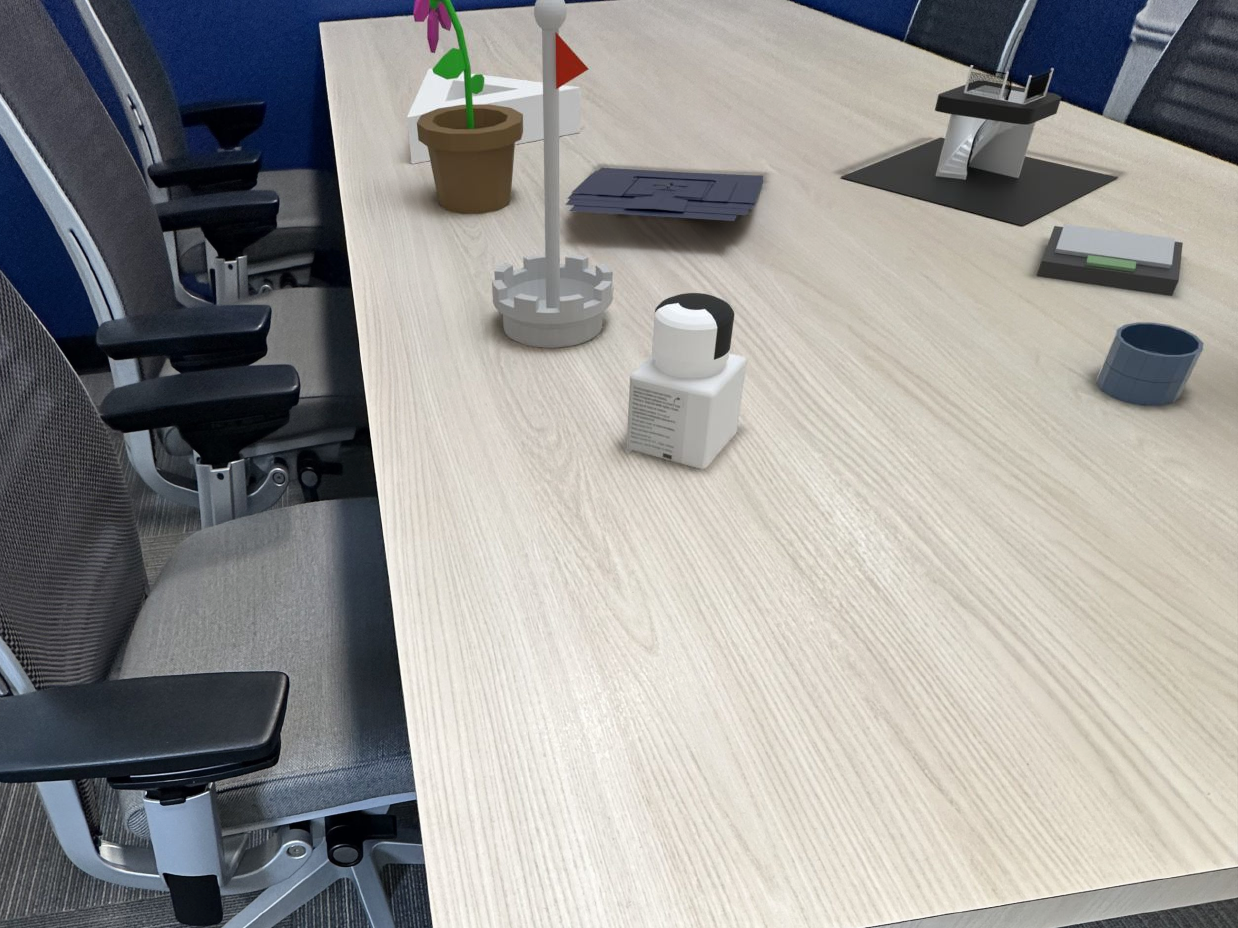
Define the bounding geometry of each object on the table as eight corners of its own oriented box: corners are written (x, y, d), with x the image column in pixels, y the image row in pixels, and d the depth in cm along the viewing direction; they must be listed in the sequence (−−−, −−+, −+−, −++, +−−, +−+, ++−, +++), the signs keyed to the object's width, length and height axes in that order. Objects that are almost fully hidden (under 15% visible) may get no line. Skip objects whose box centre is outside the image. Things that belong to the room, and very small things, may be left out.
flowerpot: (448, 181, 142) (427, -80, 120) (539, 189, 138) (535, -79, 117) (407, 213, 132) (377, -63, 111) (504, 223, 129) (493, -61, 107)
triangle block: (432, 110, 169) (429, 68, 164) (580, 107, 168) (580, 64, 163) (411, 164, 148) (406, 117, 143) (580, 161, 147) (580, 113, 142)
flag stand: (470, 324, 107) (446, -7, 86) (558, 291, 113) (556, -27, 91) (546, 363, 100) (541, 12, 78) (636, 326, 105) (654, -11, 84)
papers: (553, 234, 122) (554, 202, 120) (598, 187, 145) (600, 160, 142) (746, 246, 117) (751, 213, 115) (762, 196, 140) (766, 168, 138)
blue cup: (1177, 384, 93) (1204, 330, 89) (1174, 418, 89) (1202, 362, 85) (1097, 370, 96) (1119, 317, 92) (1090, 402, 91) (1113, 347, 87)
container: (661, 416, 91) (672, 277, 82) (737, 436, 89) (757, 294, 79) (624, 454, 87) (631, 311, 78) (703, 476, 84) (720, 330, 75)
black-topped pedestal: (839, 178, 138) (860, 69, 129) (940, 138, 150) (965, 35, 140) (1022, 226, 123) (1060, 107, 114) (1118, 178, 135) (1160, 66, 125)
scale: (1173, 263, 114) (1185, 237, 112) (1169, 302, 106) (1181, 275, 104) (1047, 246, 118) (1056, 221, 116) (1034, 281, 111) (1043, 256, 109)
